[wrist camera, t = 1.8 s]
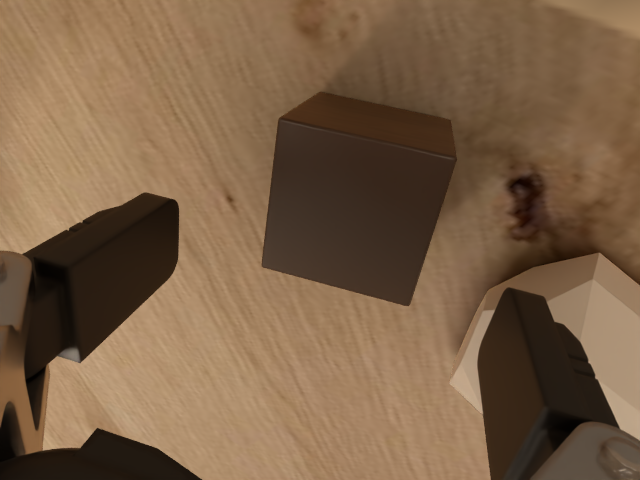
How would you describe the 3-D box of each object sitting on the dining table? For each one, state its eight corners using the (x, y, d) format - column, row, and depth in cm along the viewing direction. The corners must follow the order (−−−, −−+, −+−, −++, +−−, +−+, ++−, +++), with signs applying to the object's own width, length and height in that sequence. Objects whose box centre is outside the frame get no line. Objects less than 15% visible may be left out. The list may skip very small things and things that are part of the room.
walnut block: (318, 91, 17) (277, 117, 12) (452, 119, 16) (457, 157, 12) (300, 210, 19) (260, 267, 15) (415, 239, 18) (409, 307, 14)
